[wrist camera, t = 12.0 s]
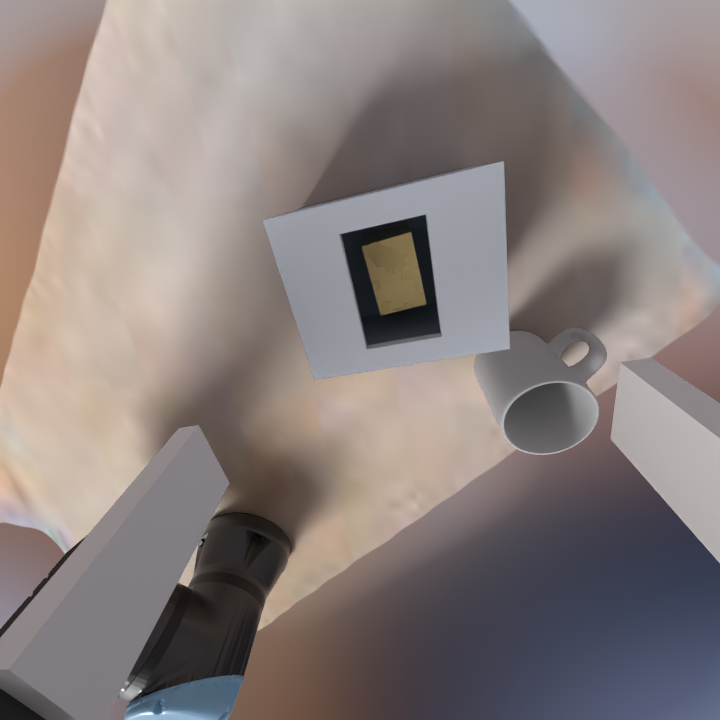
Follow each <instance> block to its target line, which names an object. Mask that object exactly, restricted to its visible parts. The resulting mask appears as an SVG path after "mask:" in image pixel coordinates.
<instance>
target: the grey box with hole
mask: <svg viewBox="0 0 720 720" xmlns="http://www.w3.org/2000/svg"><path fill="white" fill-rule="evenodd" d="M402 222H407V224H408V226H409V228H410V231H411V234H412V238H413V243H414V248H415V252H416V257H417V262H418V266H419V271H420V276H421V280H422V285H423V290H424V294H425V299H426V304H425V305H421V306H417V307H413V308H409V309H405V310H401V311H397V312H393V313H389V314H385V315H381V314H380V311H379V307H378V304H377V300H376V296H375V293H374V289H373V286H372V282H371V279H370V275H369V271H368V268H367V264H366V261H365V257H364V254H363V250H362V244H363V242H364V239H365V237H366V235H367V233H369V232H373V231H376V230H379V229H383V228H386V227H389V226H393V225H396V224H399V223H402ZM263 223H264V227H265V230H266V233H267V236H268V239H269V242H270V245H271V248H272V251H273V254H274V257H275V260H276V263H277V267H278V270H279V273H280V276H281V279H282V282H283V285H284V288H285V291H286V294H287V297H288V300H289V303H290V306H291V310H292V313H293V316H294V319H295V322H296V325H297V328H298V331H299V334H300V337H301V340H302V343H303V346H304V350H305V353H306V356H307V359H308V362H309V365H310V368H311V371H312V374H313V377H314V380H318V379H324V378H330V377H337V376H343V375H349V374H356V373H362V372H368V371H374V370H381V369H387V368H393V367H399V366H406V365H412V364H418V363H425V362H431V361H437V360H443V359H450V358H456V357H462V356H469V355H475V354H481V353H487V352H494V351H500V350H506V349H510V337H509V305H508V273H507V241H506V209H505V177H504V161H501V162H496V163H490V164H484V165H479V166H473V167H467V168H463V169H459V170H455V171H451V172H447V173H443V174H439V175H434V176H430V177H426V178H422V179H418V180H414V181H410V182H406V183H402V184H398V185H394V186H390V187H386V188H382V189H378V190H374V191H370V192H366V193H362V194H358V195H353V196H349V197H345V198H341V199H337V200H333V201H329V202H325V203H321V204H317V205H313V206H309V207H305V208H301V209H298V210H295V211H291V212H288V213H285V214H282V215H278V216H275V217H272V218H269V219H265V220H263Z"/></svg>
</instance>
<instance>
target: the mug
mask: <svg viewBox="0 0 720 720" xmlns="http://www.w3.org/2000/svg"><path fill="white" fill-rule="evenodd" d="M509 337H510V349H506V350H500V351H494V352H487V353H481V354H477V356H476V359H475V365H474V370H475V375H476V378H477V381H478V383H479V385H480V387H481V389H482V391H483V393H484V395H485V397H486V399H487V402H488V404H489V406H490V408H491V411H492V413H493V415H494V417H495V419H496V422H497V424H498V426H499V428H500V430H501V433H502V434H503V436H504V438H505V439H506V440H507V441H508V443H509V444H511V445H512V446H513V447H515V448H516V449H518V450H520V451H522V452H526V453H530V454H537V455H538V454H539V455H545V454H553V453H558V452H561V451H564V450H567V449H569V448H571V447H573V446H575V445H577V444H578V443H580V442H581V441H582V440H583V439H585V438H586V437H587V436H588V435H589V434H590V432H591V431H592V430H593V428H594V427H595V425H596V422H597V420H598V417H599V405H598V401H597V399H596V396H595V395H594V393H593V392H592V391H591V389H590V388H589V387H588V385H587V384H586V382H587V380H588V379H589V378H590V377H591V376H592V375H594V374H595V373H596V372H597V371H598V370H599V369H600V368H601V367H602V365H603V364H604V363H605V361H606V358H607V352H606V348H605V346H604V345H603V343H602V342H601V341H600V340H599V339H598V338H597V337H596V336H595V335H593V334H592V333H590V332H589V331H587V330H584V329H581V328H576V327H572V328H568V329H566V330H564V331H562V332H561V333H559V334H558V335H557V336H556V337H554V338H553V339H552V340H551V341H549V342H548V343H546V342H545V341H543V340H542V339H541V338H540V337H538V336H537V335H535V334H533V333H530V332H527V331H519V330H517V331H509ZM575 341H584V342H586V343H587V344H588V345H589V352H588V354H587V355H586V356H585V357H584V358H583V359H582V360H581V361H579V362H578V363H576V364H575V365H573V366H570V367H568V366H567V365H566V364H565V362H564V361H563V360H562V358H561V354H562V352H563V351H564V350H565V349H566V348H567V347H568V346H569V345H570V344H572V343H573V342H575Z"/></svg>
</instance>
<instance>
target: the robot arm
mask: <svg viewBox="0 0 720 720" xmlns="http://www.w3.org/2000/svg"><path fill="white" fill-rule="evenodd" d="M611 440H612V441H613V442H614V443H615V444H616V445H617V447H618V448H619V449H620V450H621V451H622V452H623V453H624V454H625V456H626V457H627V458H628V459H629V460H630V461H631V463H632V464H633V465H634V466H635V467H636V468H637V469H638V470H639V472H640V473H641V474H642V475H643V476H644V477H645V478H646V480H647V481H648V482H649V483H650V484H651V485H652V486H653V488H654V489H655V490H656V491H657V492H658V493H659V494H660V496H661V497H662V498H663V499H664V500H665V501H666V502H667V503H668V505H669V506H670V507H671V508H672V509H673V510H674V511H675V513H676V514H677V515H678V516H679V517H680V518H681V519H682V521H683V522H684V523H685V524H686V525H687V526H688V527H689V528H690V530H691V531H692V532H693V533H694V534H695V535H696V537H697V538H698V539H699V540H700V541H701V542H702V543H703V544H704V546H705V547H706V548H707V549H708V550H709V551H710V552H711V554H712V555H713V556H714V557H715V558H716V559H717V560H718V562H719V563H720V404H719V403H718V402H717V401H715V400H714V399H712V398H711V397H709V396H708V395H706V394H705V393H703V392H702V391H700V390H698V389H697V388H695V387H694V386H692V385H691V384H689V383H688V382H686V381H685V380H683V379H682V378H680V377H678V376H677V375H676V374H674V373H673V372H671V371H670V370H668V369H667V368H665V367H664V366H662V365H661V364H659V363H657V362H656V361H655V360H653V359H651V358H647V359H640V360H633V361H627V362H620V369H619V377H618V385H617V393H616V400H615V408H614V416H613V424H612V432H611ZM229 484H230V483H229V481H228V479H227V477H226V475H225V473H224V472H223V470H222V468H221V466H220V464H219V462H218V460H217V458H216V457H215V455H214V453H213V451H212V449H211V447H210V445H209V443H208V441H207V440H206V438H205V436H204V434H203V432H202V430H201V428H200V426H199V425H195V426H189V427H182V428H178V430H177V431H176V432H175V433H174V434H173V435H172V437H171V438H170V439H169V440H168V441H167V442H166V444H165V445H164V446H163V447H162V448H161V449H160V451H159V452H158V453H157V454H156V455H155V457H154V458H153V459H152V460H151V461H150V462H149V464H148V465H147V466H146V467H145V468H144V469H143V471H142V472H141V473H140V474H139V475H138V477H137V478H136V479H135V480H134V481H133V482H132V484H131V485H130V486H129V487H128V488H127V489H126V491H125V492H124V493H123V494H122V495H121V497H120V498H119V499H118V500H117V501H116V502H115V504H114V505H113V506H112V507H111V508H110V509H109V511H108V512H107V513H106V514H105V515H104V516H103V518H102V519H101V520H100V521H99V522H98V524H97V525H96V526H95V527H94V528H93V529H92V531H91V532H90V533H89V534H88V535H87V536H86V537H85V538H83V539H82V540H81V541H80V542H79V543H78V544H76V545H75V546H74V547H73V548H72V549H70V550H69V551H68V552H67V553H66V554H65V555H64V556H63V558H62V559H61V560H60V561H59V562H58V563H57V564H56V566H55V567H54V568H53V569H52V570H51V571H50V573H49V574H48V575H49V576H48V578H45V579H43V581H42V582H41V583H40V584H39V585H38V586H37V588H36V589H35V590H34V591H33V595H32V596H31V597H28V598H27V599H26V600H25V601H24V603H23V604H22V605H21V606H20V607H19V608H18V610H17V611H16V612H15V613H14V614H13V615H12V617H10V619H9V620H8V621H7V622H6V624H5V625H4V626H3V627H2V628H1V629H0V720H106V718H107V716H108V715H109V713H110V711H111V709H112V707H113V705H114V703H115V701H116V699H117V697H118V698H120V699H123V700H126V701H128V702H129V705H128V706H127V708H126V710H125V717H124V720H228V718H229V717H230V715H231V712H232V710H233V707H234V704H235V701H236V698H237V695H238V692H239V689H240V686H241V685H242V683H243V681H244V674H245V670H246V667H247V664H248V660H249V656H250V653H251V649H252V646H253V642H254V639H255V635H256V632H257V628H258V625H259V621H260V618H261V614H262V611H263V607H264V604H265V601H266V598H267V596H268V595H269V593H270V592H271V590H272V588H273V587H274V585H275V584H276V582H277V580H278V579H279V577H280V575H281V573H282V572H283V571H284V569H285V567H286V565H287V562H288V558H289V555H290V549H291V548H290V543H289V540H288V538H287V536H286V535H285V534H284V532H283V531H282V530H281V529H279V528H278V527H277V526H276V525H274V524H273V523H271V522H269V521H267V520H265V519H263V518H260V517H257V516H254V515H250V514H243V513H230V514H224V515H221V516H218V517H216V518H214V519H213V520H211V518H212V516H213V514H214V512H215V510H216V508H217V507H218V505H219V503H220V501H221V499H222V497H223V495H224V493H225V491H226V489H227V487H228V486H229ZM210 520H211V521H210ZM198 543H199V545H198ZM197 545H198V551H197V557H196V563H195V568H194V574H193V578H192V580H191V582H190V584H189V586H188V587H186V586H184V585H182V584H180V583H178V581H179V579H180V577H181V575H182V573H183V571H184V570H185V568H186V566H187V564H188V562H189V560H190V558H191V556H192V554H193V552H194V550H195V549H196V547H197Z"/></svg>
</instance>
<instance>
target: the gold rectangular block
mask: <svg viewBox="0 0 720 720" xmlns="http://www.w3.org/2000/svg"><path fill="white" fill-rule="evenodd" d="M362 250H363V254H364V257H365V261H366V264H367V268H368V271H369V275H370V279H371V282H372V286H373V289H374V293H375V296H376V300H377V304H378V307H379V311H380V314H381V315H385V314H389V313H393V312H397V311H401V310H405V309H409V308H413V307H417V306H421V305H425V304H426V299H425V294H424V290H423V285H422V280H421V276H420V271H419V266H418V262H417V257H416V252H415V248H414V243H413V238H412V234H411V231H410V228H409V226H408V224H407V222H402V223H399V224H396V225H393V226H389V227H386V228H383V229H379V230H376V231H373V232H369V233H367V235H366V237H365V239H364V242H363V244H362Z"/></svg>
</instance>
